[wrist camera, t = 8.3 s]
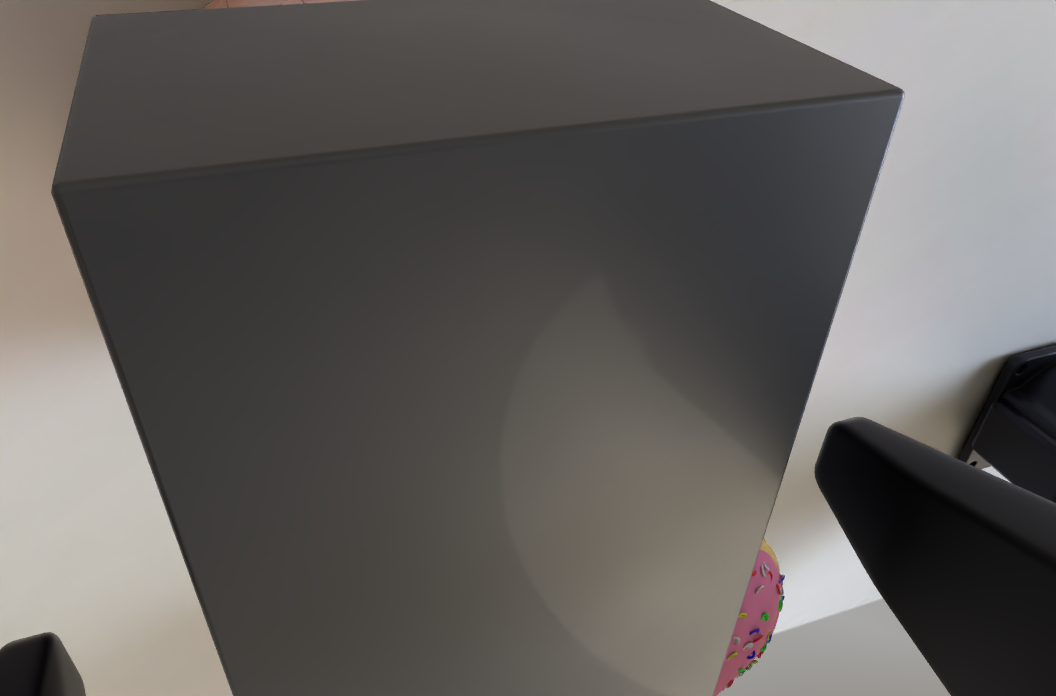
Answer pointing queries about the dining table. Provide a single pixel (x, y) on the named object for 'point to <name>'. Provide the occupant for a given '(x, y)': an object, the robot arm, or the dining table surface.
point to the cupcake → (754, 618)
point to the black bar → (467, 322)
